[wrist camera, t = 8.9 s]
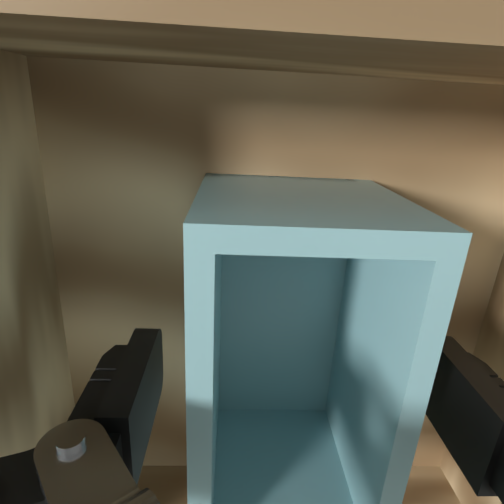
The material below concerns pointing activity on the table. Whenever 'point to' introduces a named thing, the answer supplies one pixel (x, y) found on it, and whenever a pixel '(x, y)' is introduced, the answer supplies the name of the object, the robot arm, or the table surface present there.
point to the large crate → (224, 162)
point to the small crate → (311, 337)
